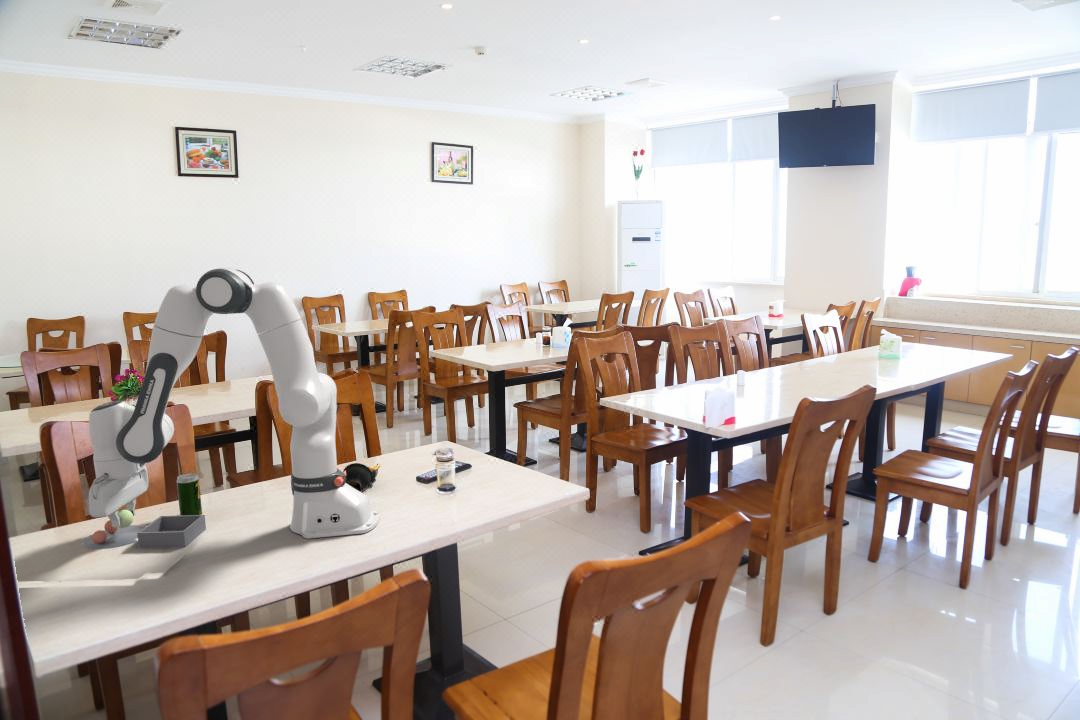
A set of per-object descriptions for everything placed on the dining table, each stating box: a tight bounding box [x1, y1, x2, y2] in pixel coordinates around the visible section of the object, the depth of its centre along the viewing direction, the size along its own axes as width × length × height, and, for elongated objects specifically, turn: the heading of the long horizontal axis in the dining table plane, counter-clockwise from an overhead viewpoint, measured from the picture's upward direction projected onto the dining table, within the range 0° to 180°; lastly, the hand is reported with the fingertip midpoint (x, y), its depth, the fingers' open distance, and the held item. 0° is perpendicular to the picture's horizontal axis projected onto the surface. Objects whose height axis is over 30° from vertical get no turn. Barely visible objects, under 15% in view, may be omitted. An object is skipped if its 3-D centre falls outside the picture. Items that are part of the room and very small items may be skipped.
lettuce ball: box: [117, 509, 134, 528], centre depth 187 cm, size 4×4×4 cm
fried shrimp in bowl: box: [342, 462, 381, 492], centre depth 226 cm, size 9×11×18 cm
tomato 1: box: [91, 529, 107, 544], centre depth 184 cm, size 3×3×3 cm
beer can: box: [176, 473, 203, 516], centre depth 201 cm, size 5×5×12 cm
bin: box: [137, 514, 207, 549], centre depth 186 cm, size 11×11×5 cm
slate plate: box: [82, 524, 147, 550], centre depth 189 cm, size 15×15×1 cm
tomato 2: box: [103, 519, 119, 533], centre depth 191 cm, size 3×3×3 cm
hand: (123, 521), depth 187 cm, fingers closed on lettuce ball, 4 cm apart
